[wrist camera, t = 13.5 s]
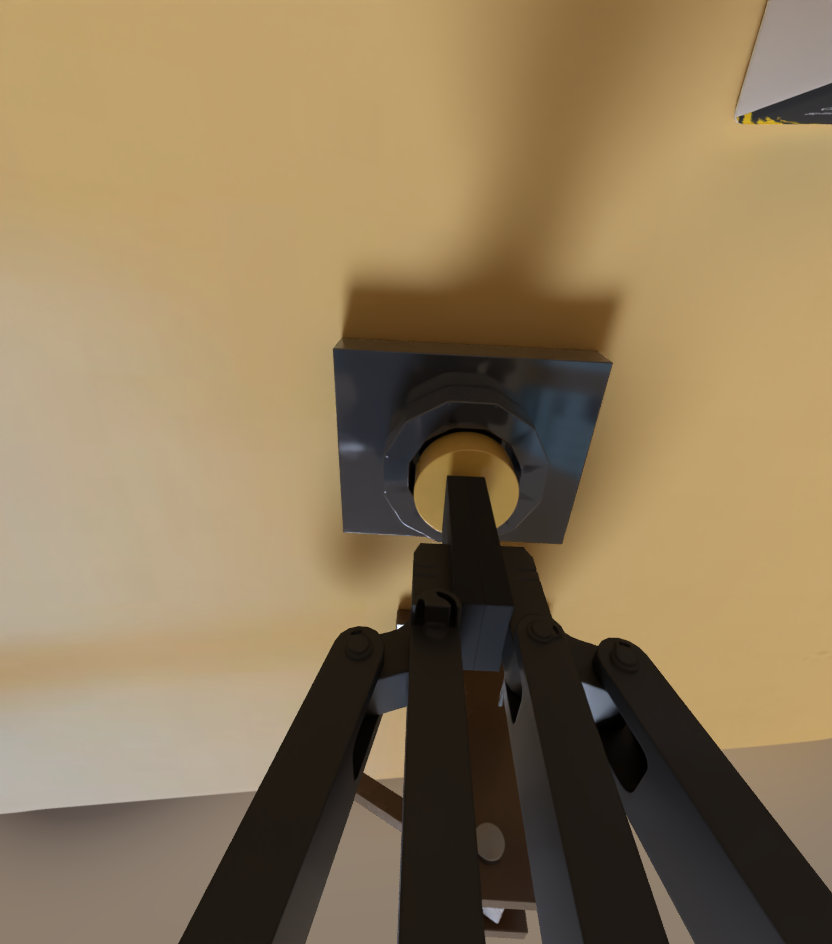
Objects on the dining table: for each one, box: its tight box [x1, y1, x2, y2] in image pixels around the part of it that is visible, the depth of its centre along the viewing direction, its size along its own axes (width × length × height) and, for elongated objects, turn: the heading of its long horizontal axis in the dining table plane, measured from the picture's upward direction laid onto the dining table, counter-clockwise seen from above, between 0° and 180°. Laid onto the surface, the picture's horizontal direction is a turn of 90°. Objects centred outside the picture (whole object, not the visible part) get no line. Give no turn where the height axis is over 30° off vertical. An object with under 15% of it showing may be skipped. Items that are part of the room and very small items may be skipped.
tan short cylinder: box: [414, 431, 519, 533], centre depth 18 cm, size 4×4×2 cm
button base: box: [333, 338, 613, 544], centre depth 20 cm, size 12×10×4 cm
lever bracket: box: [396, 610, 537, 939], centre depth 25 cm, size 10×8×14 cm
